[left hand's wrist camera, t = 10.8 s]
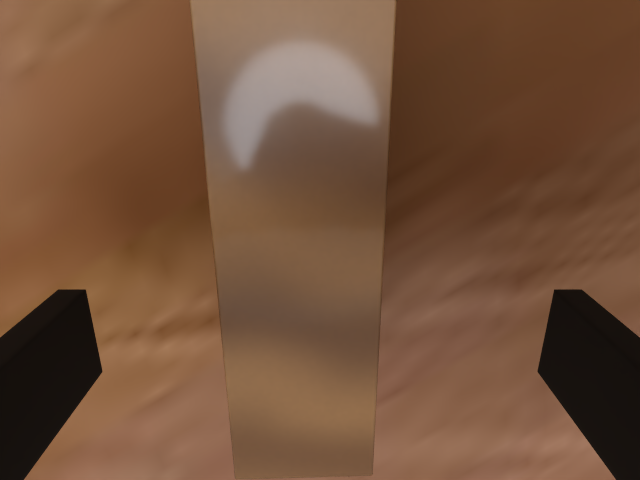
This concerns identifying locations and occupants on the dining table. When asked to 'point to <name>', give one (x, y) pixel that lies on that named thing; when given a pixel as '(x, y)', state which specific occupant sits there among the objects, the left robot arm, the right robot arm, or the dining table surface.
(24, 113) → the dining table surface
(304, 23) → the bar
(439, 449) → the dining table surface
